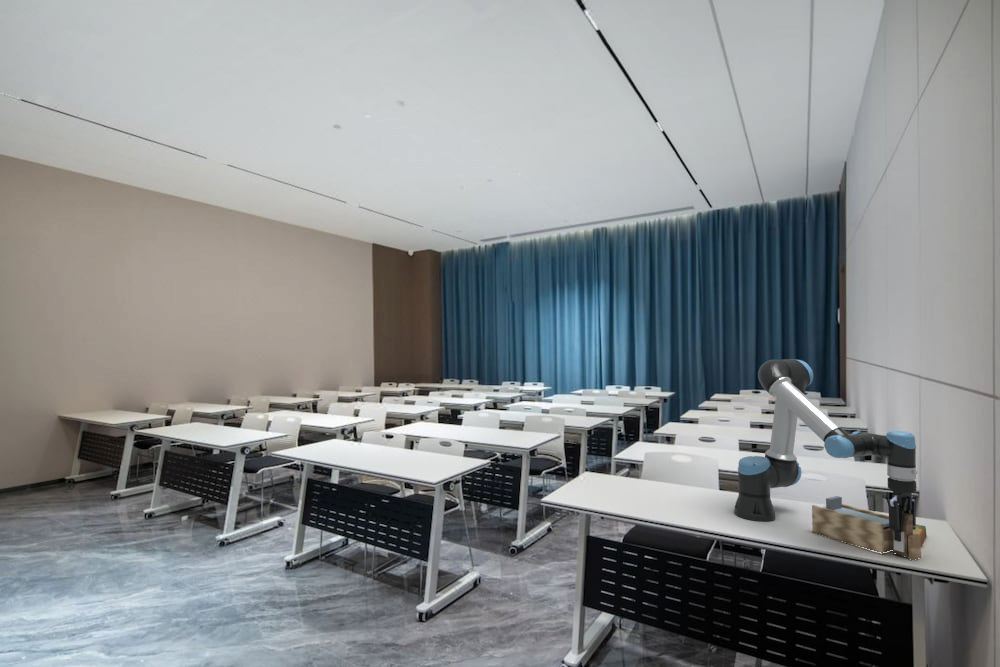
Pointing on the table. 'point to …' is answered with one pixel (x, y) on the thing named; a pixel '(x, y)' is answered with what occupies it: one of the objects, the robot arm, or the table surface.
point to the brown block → (905, 533)
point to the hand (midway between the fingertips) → (903, 549)
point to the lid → (852, 511)
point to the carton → (920, 532)
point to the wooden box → (859, 530)
